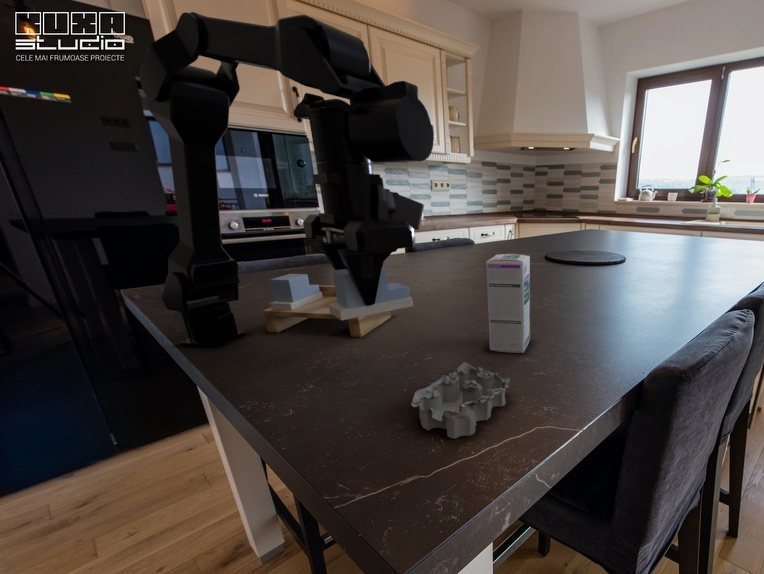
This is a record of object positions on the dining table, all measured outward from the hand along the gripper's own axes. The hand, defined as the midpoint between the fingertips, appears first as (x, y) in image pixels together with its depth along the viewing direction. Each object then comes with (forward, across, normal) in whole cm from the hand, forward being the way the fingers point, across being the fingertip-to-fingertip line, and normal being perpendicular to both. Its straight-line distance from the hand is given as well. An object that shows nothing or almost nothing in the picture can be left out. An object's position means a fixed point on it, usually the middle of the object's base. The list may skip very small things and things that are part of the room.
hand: (363, 301), depth 49 cm
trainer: (+1, 0, 0) cm, 1 cm away
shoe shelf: (+11, +28, -4) cm, 30 cm away
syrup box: (+11, -2, -22) cm, 24 cm away
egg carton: (+11, -14, -4) cm, 19 cm away
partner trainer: (+7, +32, 0) cm, 33 cm away
